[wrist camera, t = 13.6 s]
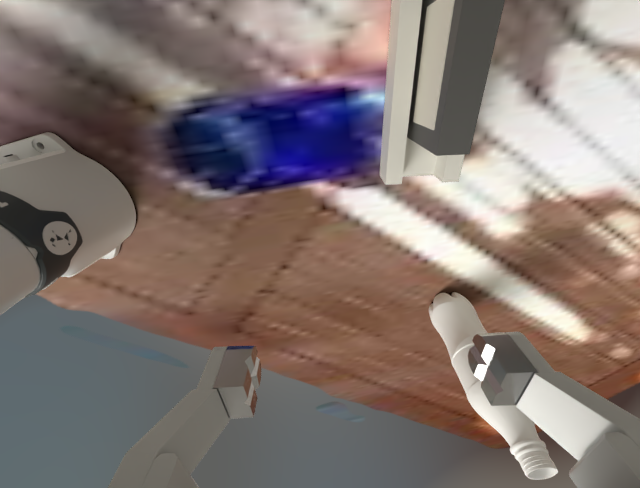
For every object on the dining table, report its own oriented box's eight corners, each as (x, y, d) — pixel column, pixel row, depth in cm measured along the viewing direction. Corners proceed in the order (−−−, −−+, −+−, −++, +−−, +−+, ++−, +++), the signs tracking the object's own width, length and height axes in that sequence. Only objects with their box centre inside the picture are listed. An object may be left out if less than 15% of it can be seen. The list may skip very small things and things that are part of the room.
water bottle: (416, 307, 49) (489, 478, 28) (445, 280, 46) (552, 451, 25) (445, 321, 51) (533, 492, 30) (474, 297, 48) (596, 469, 27)
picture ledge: (379, 175, 37) (385, 184, 34) (397, -84, 25) (409, -111, 21) (445, 172, 37) (458, 181, 33) (497, -91, 24) (525, -119, 21)
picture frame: (406, 137, 33) (435, 155, 25) (422, -15, 26) (471, -63, 18) (432, 136, 33) (470, 154, 25) (455, -17, 26) (521, -66, 18)
